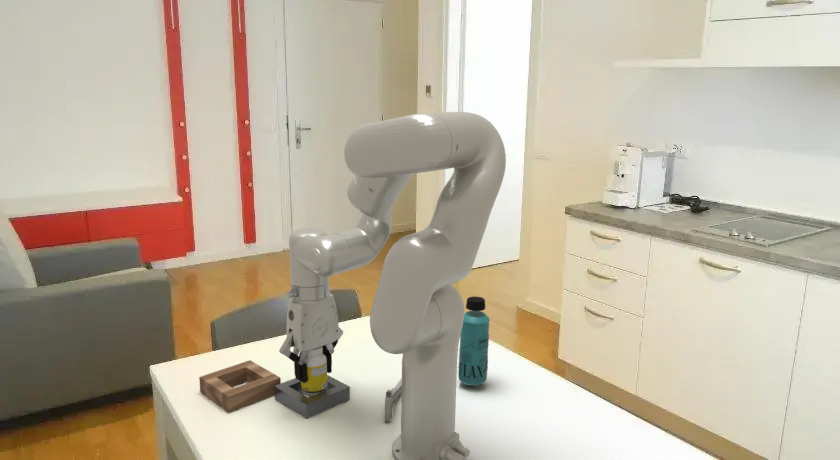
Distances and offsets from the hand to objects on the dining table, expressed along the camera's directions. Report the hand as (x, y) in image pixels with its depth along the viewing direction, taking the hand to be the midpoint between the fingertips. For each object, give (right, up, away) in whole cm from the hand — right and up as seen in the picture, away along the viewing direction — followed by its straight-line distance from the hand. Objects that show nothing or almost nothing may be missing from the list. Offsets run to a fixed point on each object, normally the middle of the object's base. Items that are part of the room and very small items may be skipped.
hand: (313, 374), depth 128 cm
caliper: (+17, -6, +3) cm, 18 cm away
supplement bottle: (0, -4, +1) cm, 4 cm away
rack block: (-16, -5, +4) cm, 17 cm away
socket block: (-1, -6, +2) cm, 6 cm away
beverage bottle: (+33, -5, +9) cm, 35 cm away
